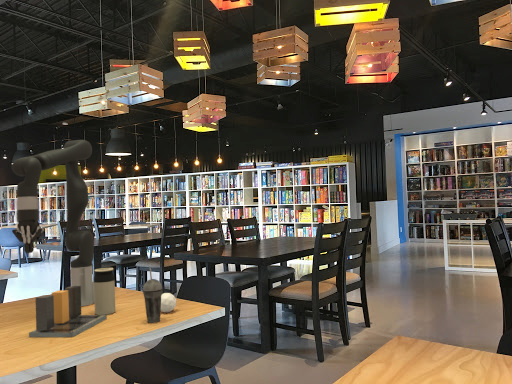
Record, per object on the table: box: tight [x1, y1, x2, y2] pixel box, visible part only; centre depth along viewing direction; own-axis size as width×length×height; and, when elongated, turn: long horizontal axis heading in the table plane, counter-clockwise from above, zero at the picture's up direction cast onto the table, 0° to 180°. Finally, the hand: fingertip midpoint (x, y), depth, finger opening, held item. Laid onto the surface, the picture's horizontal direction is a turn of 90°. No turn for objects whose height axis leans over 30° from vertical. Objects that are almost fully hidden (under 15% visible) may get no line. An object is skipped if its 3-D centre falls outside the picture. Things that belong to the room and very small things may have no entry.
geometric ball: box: [161, 292, 177, 314], centre depth 171 cm, size 8×8×8 cm
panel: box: [28, 285, 108, 338], centre depth 153 cm, size 23×16×13 cm
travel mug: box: [93, 267, 116, 315], centre depth 173 cm, size 8×8×18 cm
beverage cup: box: [142, 267, 163, 324], centre depth 157 cm, size 7×7×20 cm
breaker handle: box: [51, 289, 69, 323], centre depth 154 cm, size 4×4×11 cm
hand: (29, 252), depth 165 cm, fingers closed
